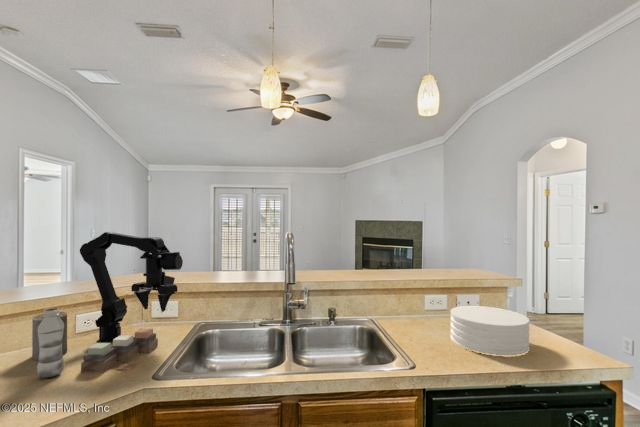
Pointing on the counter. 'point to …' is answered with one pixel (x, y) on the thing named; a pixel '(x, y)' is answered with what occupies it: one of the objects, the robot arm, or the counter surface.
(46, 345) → the plastic bottle
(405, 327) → the counter surface
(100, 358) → the button panel
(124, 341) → the cream button
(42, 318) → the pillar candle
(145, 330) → the terracotta button
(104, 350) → the sage button
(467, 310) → the plate stack
